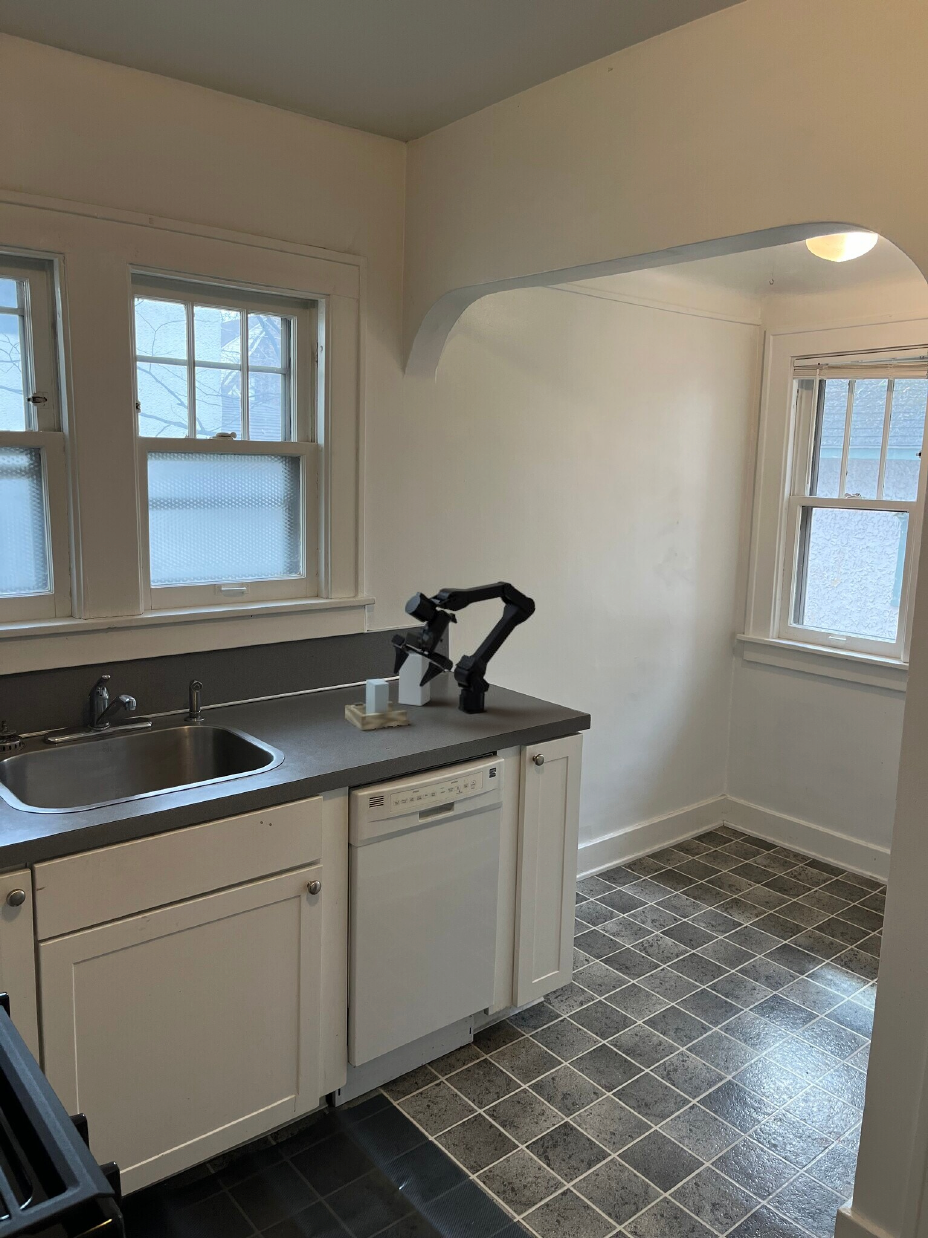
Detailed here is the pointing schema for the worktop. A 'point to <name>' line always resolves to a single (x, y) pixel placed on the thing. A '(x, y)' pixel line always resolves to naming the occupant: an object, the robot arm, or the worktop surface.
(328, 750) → the worktop surface
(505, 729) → the worktop surface
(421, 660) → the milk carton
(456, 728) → the worktop surface
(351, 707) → the wooden tray
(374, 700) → the pale blue box
